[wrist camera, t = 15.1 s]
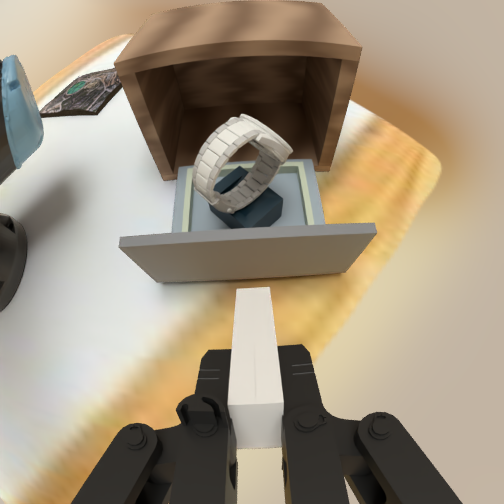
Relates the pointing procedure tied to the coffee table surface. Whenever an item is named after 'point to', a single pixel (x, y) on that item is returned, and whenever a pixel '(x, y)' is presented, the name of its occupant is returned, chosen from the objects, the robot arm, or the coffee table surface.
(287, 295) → the coffee table surface
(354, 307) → the coffee table surface
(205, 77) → the watch cabinet
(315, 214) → the drawer tray
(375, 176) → the coffee table surface
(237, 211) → the watch
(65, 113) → the terrain model
